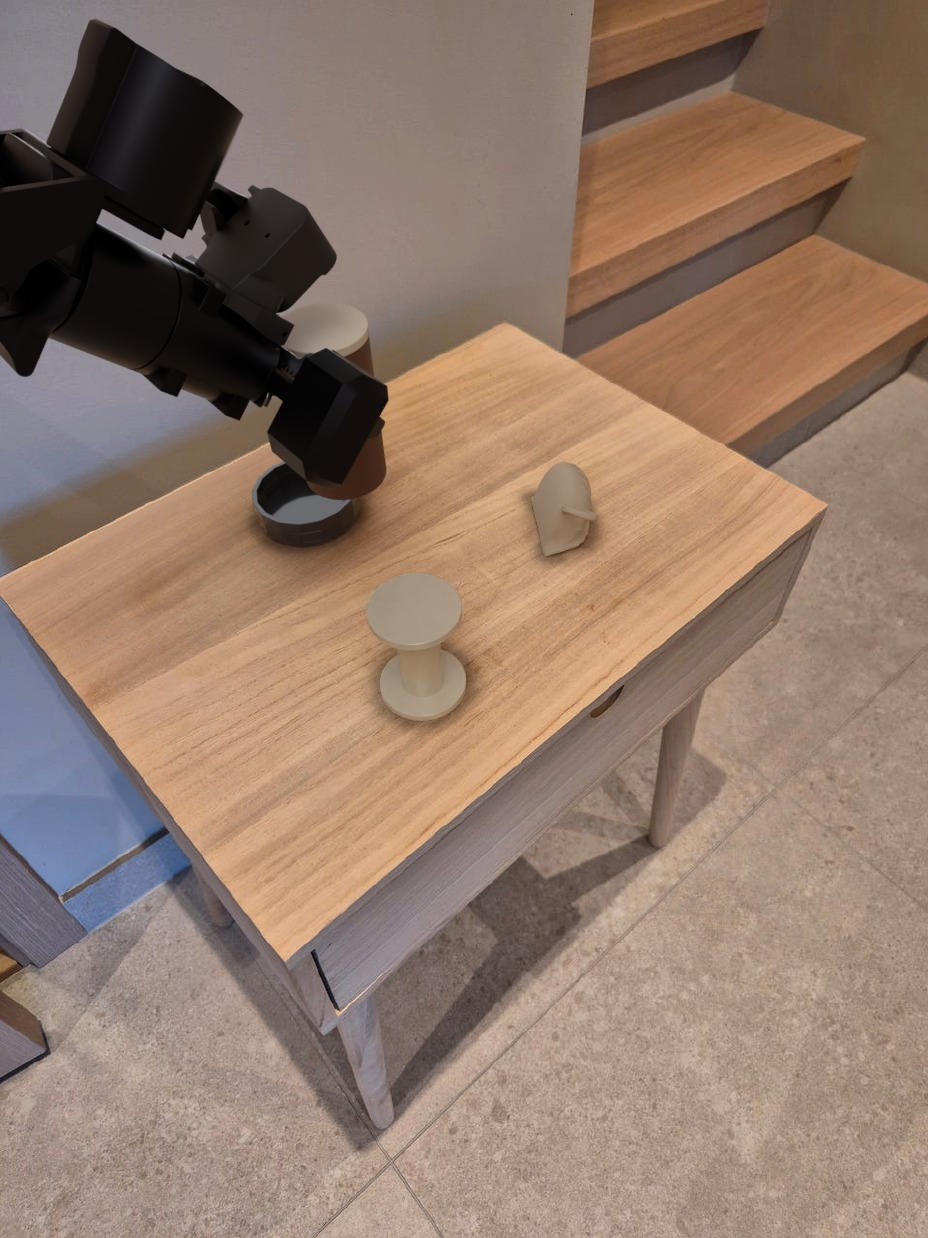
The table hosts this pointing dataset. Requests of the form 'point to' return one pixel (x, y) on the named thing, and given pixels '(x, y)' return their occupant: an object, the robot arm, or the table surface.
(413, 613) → the stand
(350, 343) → the brown lidded canister
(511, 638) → the table surface
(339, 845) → the table surface
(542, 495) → the beige curved piece
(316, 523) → the bowl
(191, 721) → the table surface
